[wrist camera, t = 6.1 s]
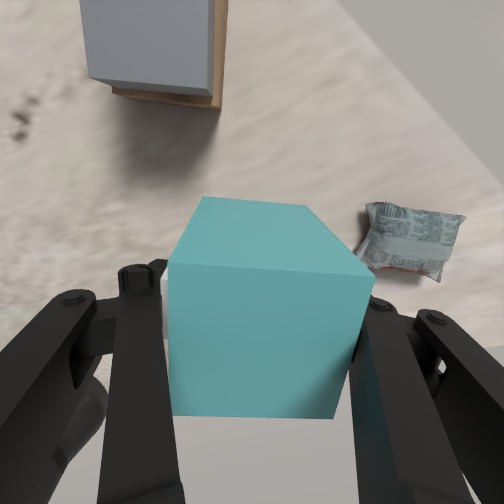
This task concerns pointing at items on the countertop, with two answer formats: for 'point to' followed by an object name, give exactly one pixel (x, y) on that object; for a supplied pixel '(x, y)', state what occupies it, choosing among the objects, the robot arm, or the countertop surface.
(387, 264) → the packaged food
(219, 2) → the walnut base
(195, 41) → the charcoal block
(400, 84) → the countertop surface
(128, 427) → the robot arm
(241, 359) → the teal block
